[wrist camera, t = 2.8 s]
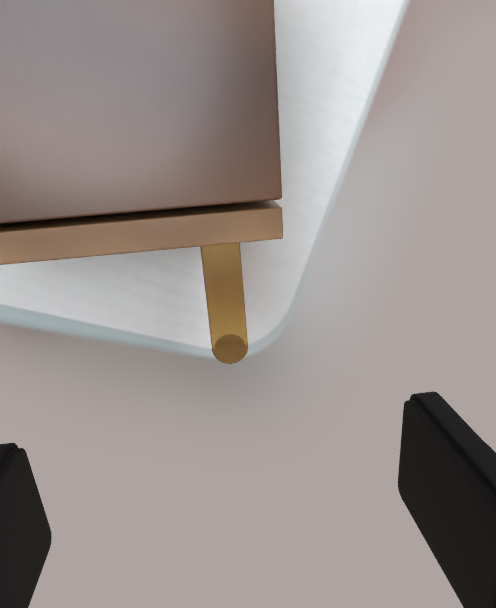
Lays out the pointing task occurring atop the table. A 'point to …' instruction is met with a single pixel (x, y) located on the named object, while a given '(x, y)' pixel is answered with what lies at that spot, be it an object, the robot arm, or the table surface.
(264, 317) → the table surface
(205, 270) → the cupboard door
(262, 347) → the table surface
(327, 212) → the table surface
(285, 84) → the table surface
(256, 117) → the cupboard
